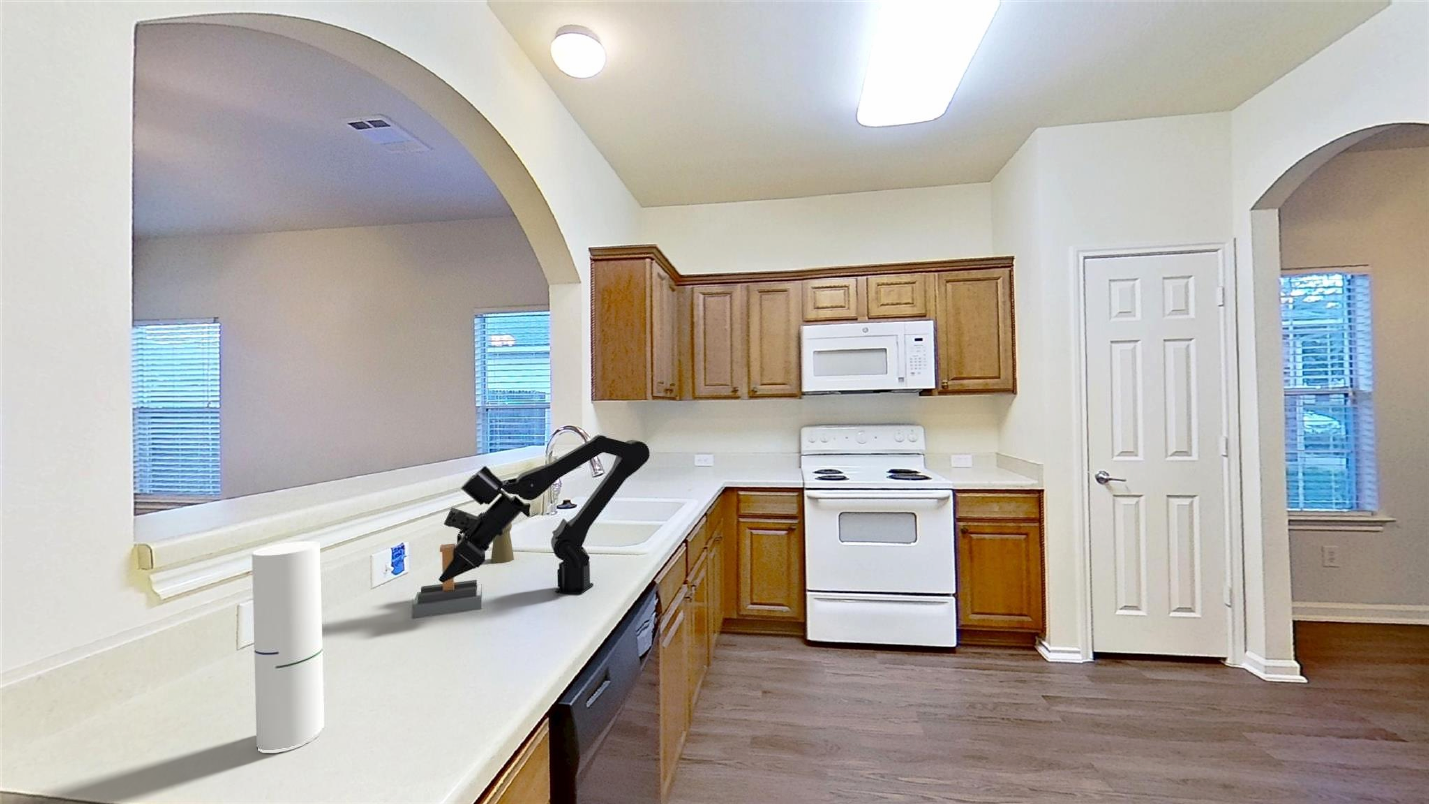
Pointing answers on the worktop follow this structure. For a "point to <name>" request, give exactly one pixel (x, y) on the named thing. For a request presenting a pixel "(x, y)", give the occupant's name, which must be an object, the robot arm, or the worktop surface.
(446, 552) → the handle
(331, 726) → the worktop surface
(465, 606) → the grey slotted base
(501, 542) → the cork
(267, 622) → the cylindrical container
